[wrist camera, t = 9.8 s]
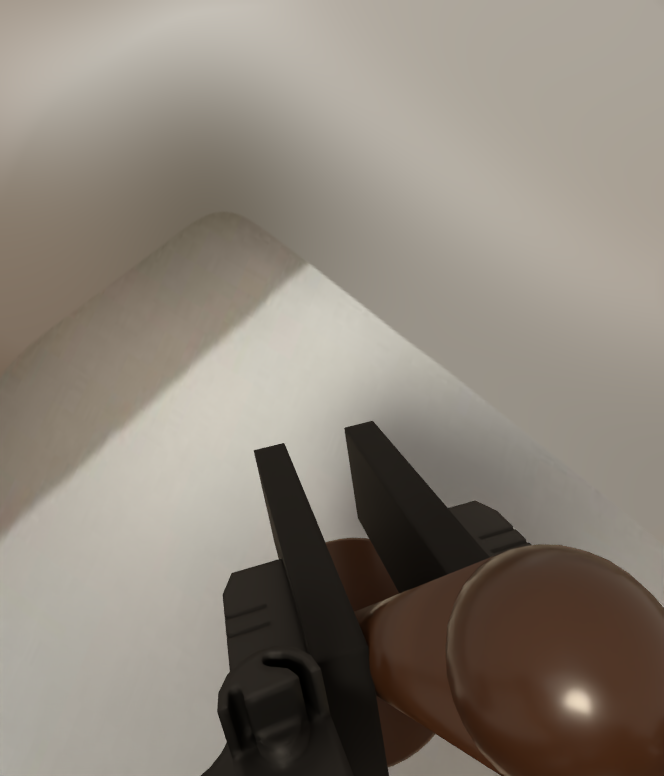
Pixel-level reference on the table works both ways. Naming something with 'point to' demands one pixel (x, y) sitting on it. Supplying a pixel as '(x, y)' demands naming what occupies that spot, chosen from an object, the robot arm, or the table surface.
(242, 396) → the table surface
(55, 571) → the table surface
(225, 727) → the robot arm
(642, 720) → the wooden peg stand
